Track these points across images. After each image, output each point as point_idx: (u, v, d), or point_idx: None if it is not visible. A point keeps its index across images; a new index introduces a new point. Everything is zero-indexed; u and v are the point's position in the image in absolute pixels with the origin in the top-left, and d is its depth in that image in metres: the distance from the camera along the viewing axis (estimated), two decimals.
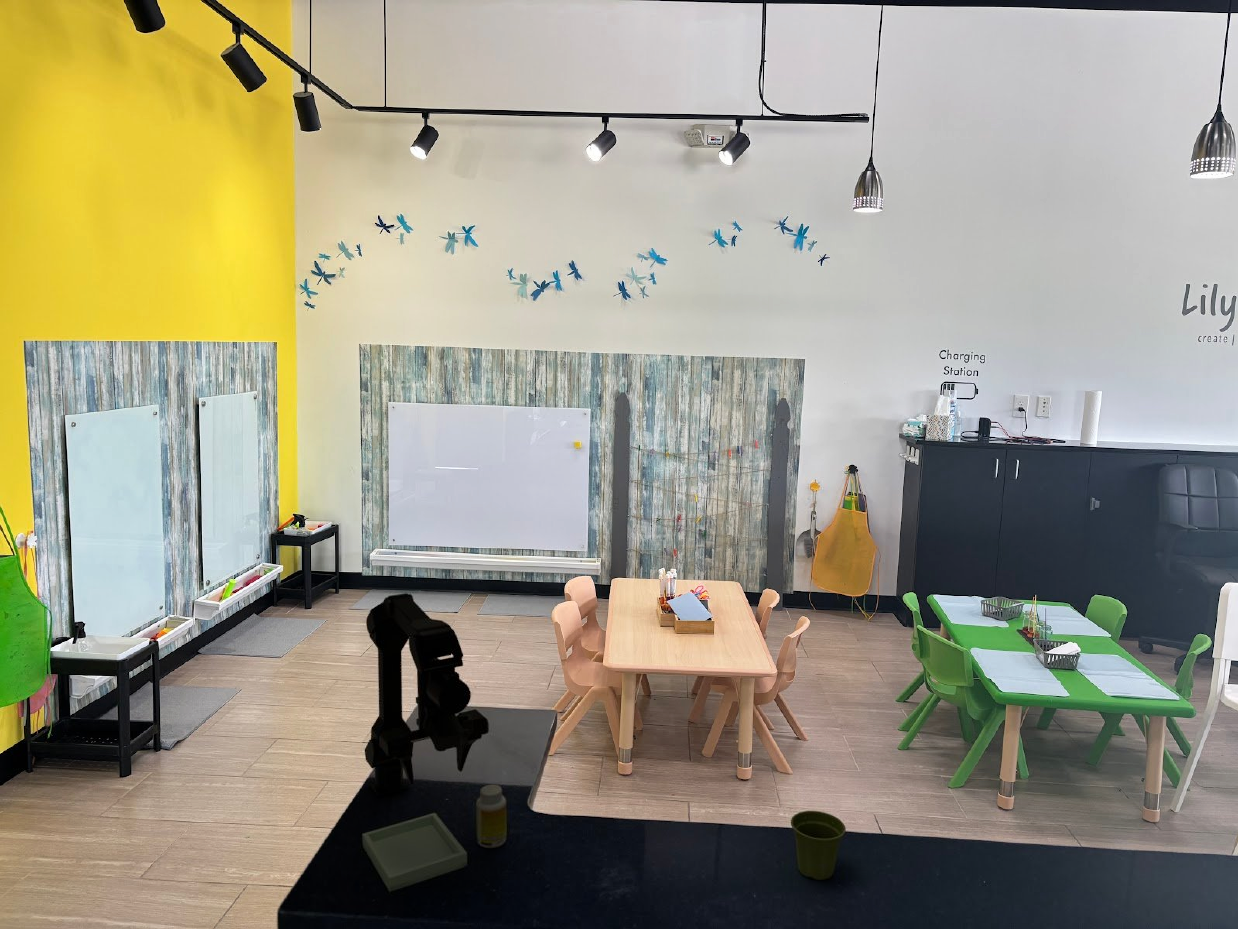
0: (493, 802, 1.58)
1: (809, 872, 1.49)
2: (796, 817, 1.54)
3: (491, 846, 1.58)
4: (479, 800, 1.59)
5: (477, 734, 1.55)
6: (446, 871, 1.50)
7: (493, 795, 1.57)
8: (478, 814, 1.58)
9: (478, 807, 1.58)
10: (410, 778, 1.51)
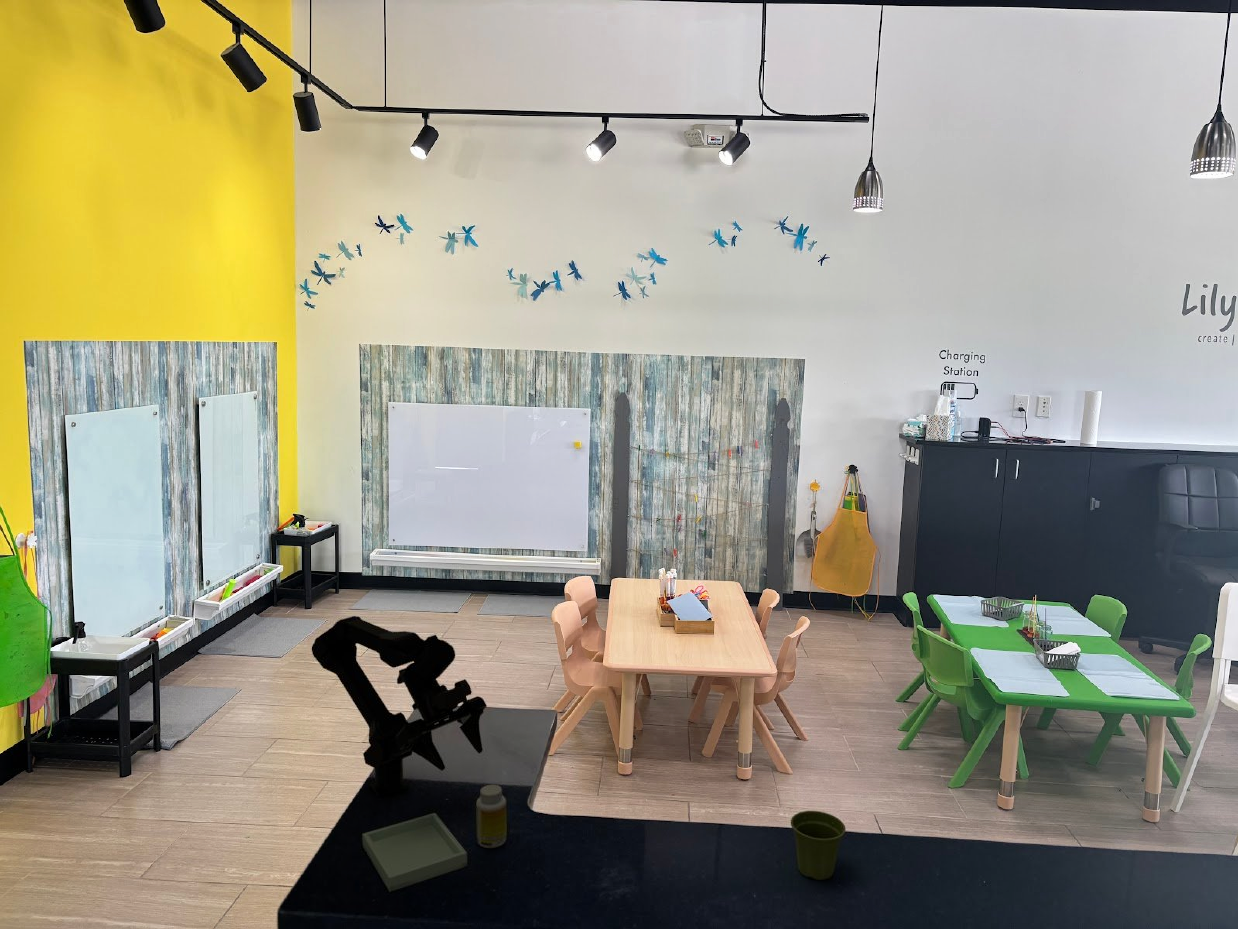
0: (493, 802, 1.58)
1: (809, 872, 1.49)
2: (796, 817, 1.54)
3: (491, 846, 1.58)
4: (479, 800, 1.59)
5: (478, 707, 1.70)
6: (446, 871, 1.50)
7: (493, 796, 1.57)
8: (478, 814, 1.58)
9: (478, 807, 1.58)
10: (440, 761, 1.60)
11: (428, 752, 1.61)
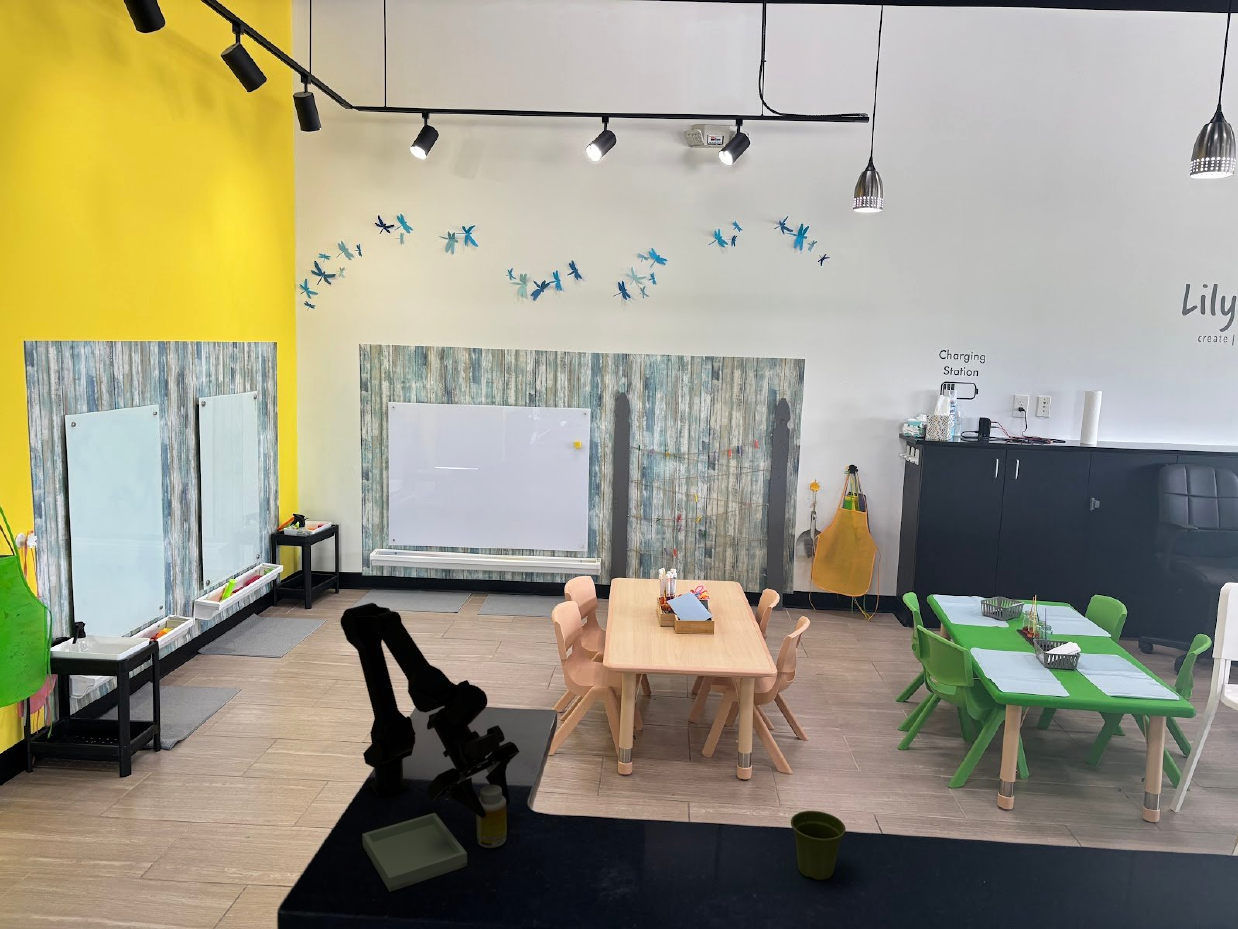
0: (493, 802, 1.58)
1: (809, 872, 1.49)
2: (796, 817, 1.54)
3: (491, 846, 1.58)
4: (479, 800, 1.59)
5: (511, 753, 1.65)
6: (446, 871, 1.50)
7: (493, 795, 1.57)
8: None
9: None
10: (480, 808, 1.56)
11: (468, 799, 1.57)
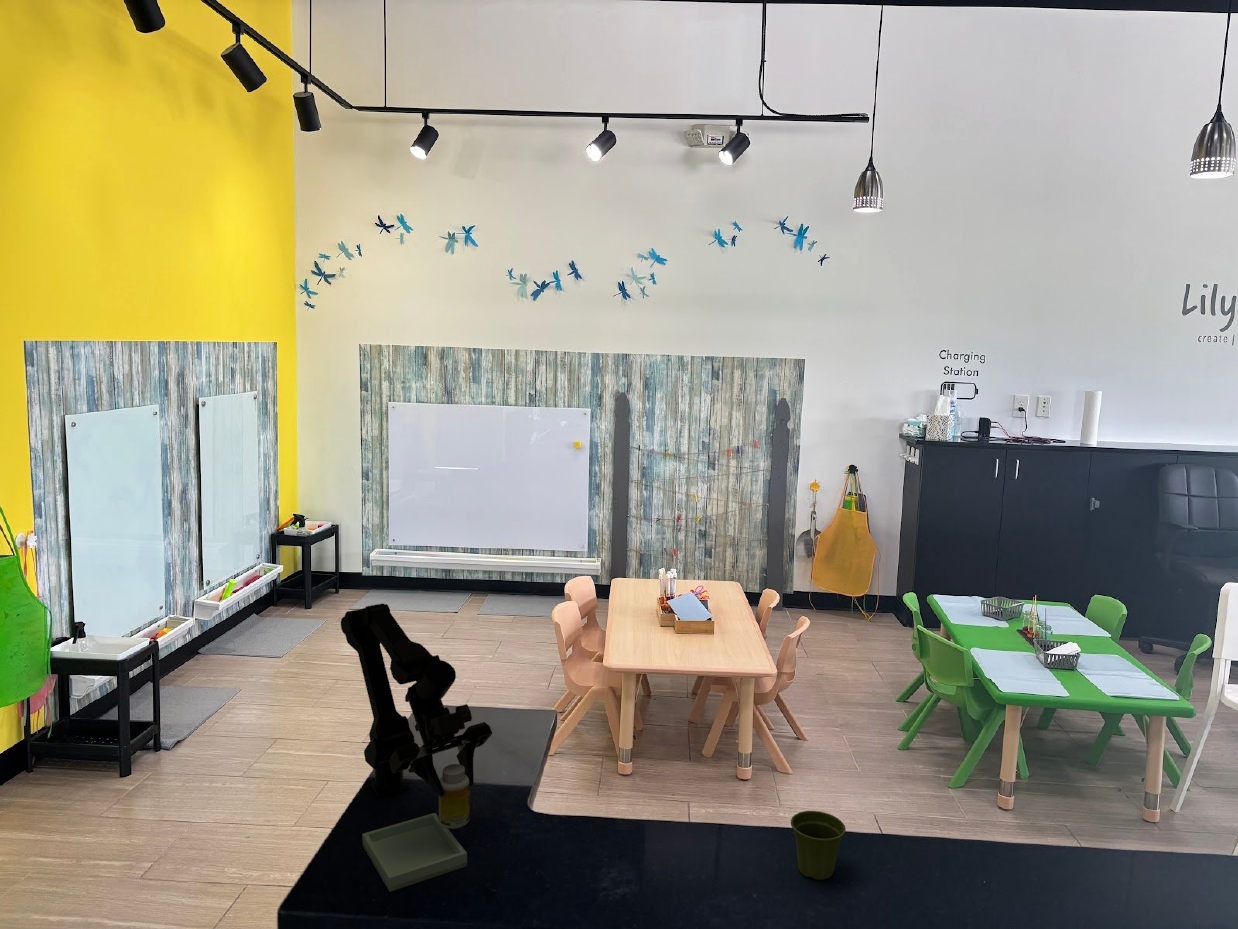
0: (453, 782, 1.54)
1: (809, 872, 1.49)
2: (796, 817, 1.54)
3: (450, 826, 1.54)
4: (442, 778, 1.56)
5: (481, 734, 1.61)
6: (446, 871, 1.50)
7: (453, 775, 1.54)
8: None
9: None
10: (439, 787, 1.53)
11: (428, 776, 1.54)
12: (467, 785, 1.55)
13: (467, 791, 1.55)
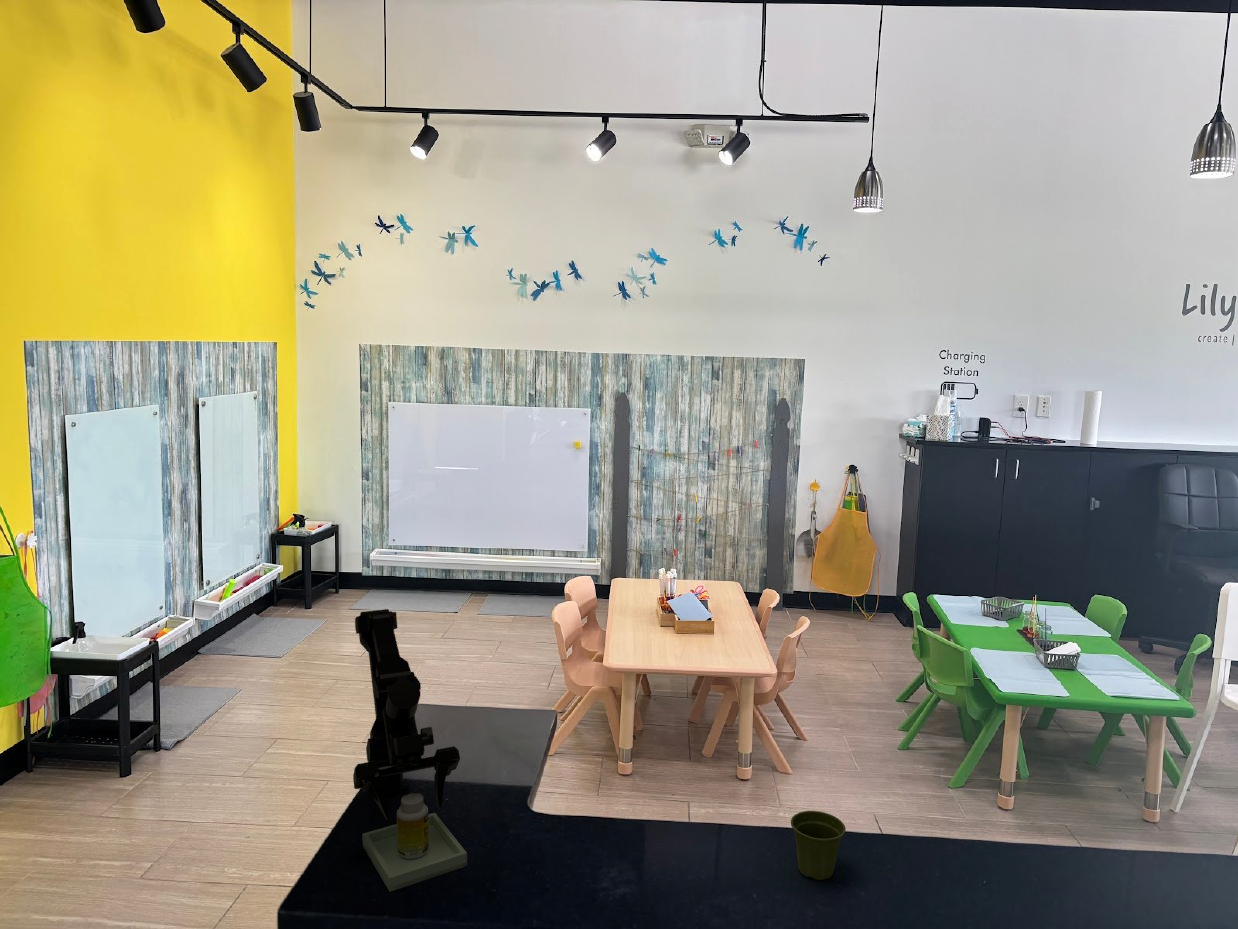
0: (409, 812, 1.53)
1: (809, 872, 1.49)
2: (796, 817, 1.54)
3: (405, 856, 1.53)
4: None
5: (447, 759, 1.58)
6: (446, 871, 1.50)
7: (408, 805, 1.52)
8: None
9: None
10: (385, 810, 1.51)
11: (378, 798, 1.53)
12: (423, 816, 1.53)
13: (423, 822, 1.53)
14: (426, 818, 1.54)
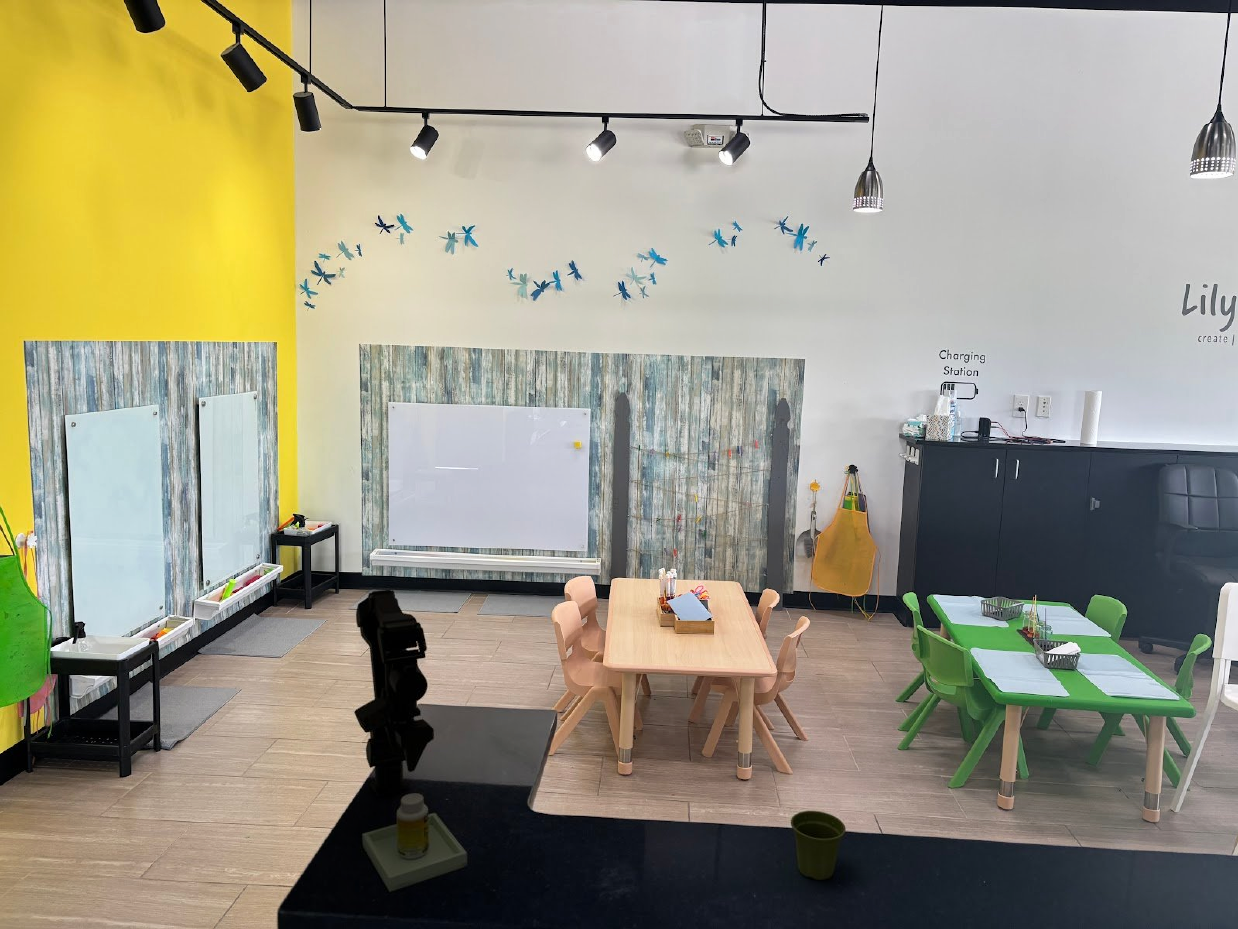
0: (409, 812, 1.53)
1: (809, 872, 1.49)
2: (796, 817, 1.54)
3: (405, 856, 1.53)
4: None
5: (397, 741, 1.56)
6: (446, 871, 1.50)
7: (408, 805, 1.52)
8: None
9: None
10: (390, 745, 1.68)
11: None
12: (423, 816, 1.53)
13: (423, 822, 1.53)
14: (426, 818, 1.54)
